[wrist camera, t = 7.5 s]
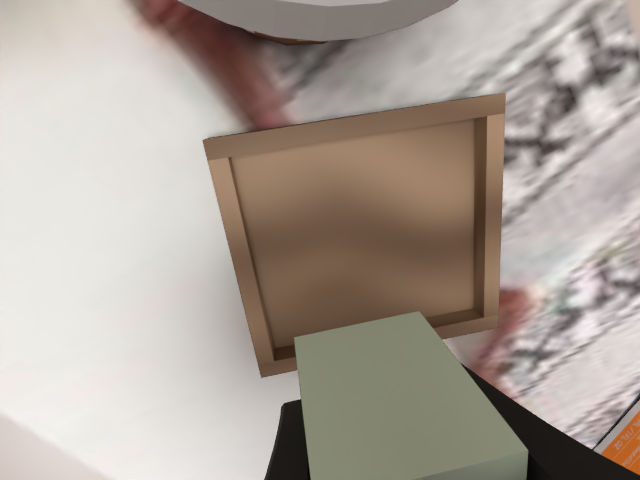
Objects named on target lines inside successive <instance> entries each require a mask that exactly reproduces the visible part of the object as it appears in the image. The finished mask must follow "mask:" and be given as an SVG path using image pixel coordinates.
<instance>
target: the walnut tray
mask: <svg viewBox="0 0 640 480" xmlns="http://www.w3.org/2000/svg"><path fill="white" fill-rule="evenodd" d="M505 99H506V93H503V94H493V95H484V96H478V97H472V98H465V99H459V100H452V101H446V102H439V103H433V104H426V105H420V106H413V107H407V108H400V109H394V110H387V111H381V112H375V113H368V114H362V115H355V116H349V117H342V118H336V119H329V120H323V121H316V122H310V123H303V124H297V125H290V126H284V127H278V128H271V129H265V130H258V131H252V132H245V133H239V134H232V135H226V136H219V137H213V138H208V139H205V140H203V144H204V148H205V152H206V156H207V160H208V164H209V168H210V172H211V176H212V180H213V184H214V188H215V192H216V196H217V200H218V204H219V208H220V212H221V216H222V220H223V225H224V229H225V233H226V237H227V241H228V245H229V249H230V253H231V257H232V261H233V265H234V269H235V273H236V277H237V281H238V285H239V289H240V293H241V297H242V301H243V305H244V309H245V314H246V318H247V322H248V326H249V330H250V334H251V338H252V342H253V346H254V350H255V354H256V358H257V362H258V366H259V370H260V374H261V378H262V377H267V376H272V375H277V374H281V373H286V372H291V371H296V370H298V368H297V359H296V351H295V342H294V337H298V336H303V335H308V334H313V333H317V332H322V331H327V330H331V329H336V328H341V327H346V326H350V325H355V324H360V323H365V322H369V321H374V320H379V319H384V318H388V317H393V316H398V315H402V314H407V313H412V312H417V311H420V313H421V314H422V315H423V316H424V318H425V319H426V320H427V322H428V323H429V324H430V325H431V327H432V328H433V329H434V330H435V332H436V333H437V334H438V336H439V337H440V338H441V339H447V338H452V337H456V336H461V335H466V334H471V333H475V332H480V331H485V330H490V329H494V328H498V312H499V282H500V251H501V221H502V191H503V160H504V130H505Z"/></svg>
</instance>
